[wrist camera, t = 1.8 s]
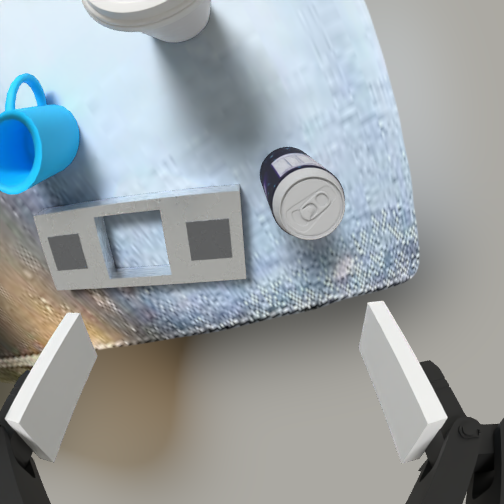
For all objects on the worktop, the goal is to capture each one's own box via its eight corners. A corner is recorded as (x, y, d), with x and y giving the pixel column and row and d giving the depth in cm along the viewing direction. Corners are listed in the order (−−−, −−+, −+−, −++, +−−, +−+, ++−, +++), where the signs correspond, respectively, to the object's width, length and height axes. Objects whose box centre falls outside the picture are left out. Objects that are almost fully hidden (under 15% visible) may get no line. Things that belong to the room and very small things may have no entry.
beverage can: (247, 171, 33) (256, 208, 22) (288, 134, 32) (317, 153, 21) (284, 207, 35) (307, 259, 24) (322, 173, 34) (364, 210, 23)
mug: (84, 167, 31) (49, 187, 24) (30, 178, 31) (-9, 200, 24) (73, 64, 26) (33, 59, 19) (17, 84, 26) (-26, 87, 19)
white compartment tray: (64, 280, 37) (56, 290, 35) (43, 208, 33) (33, 216, 31) (245, 267, 38) (246, 279, 36) (239, 184, 34) (239, 191, 31)
